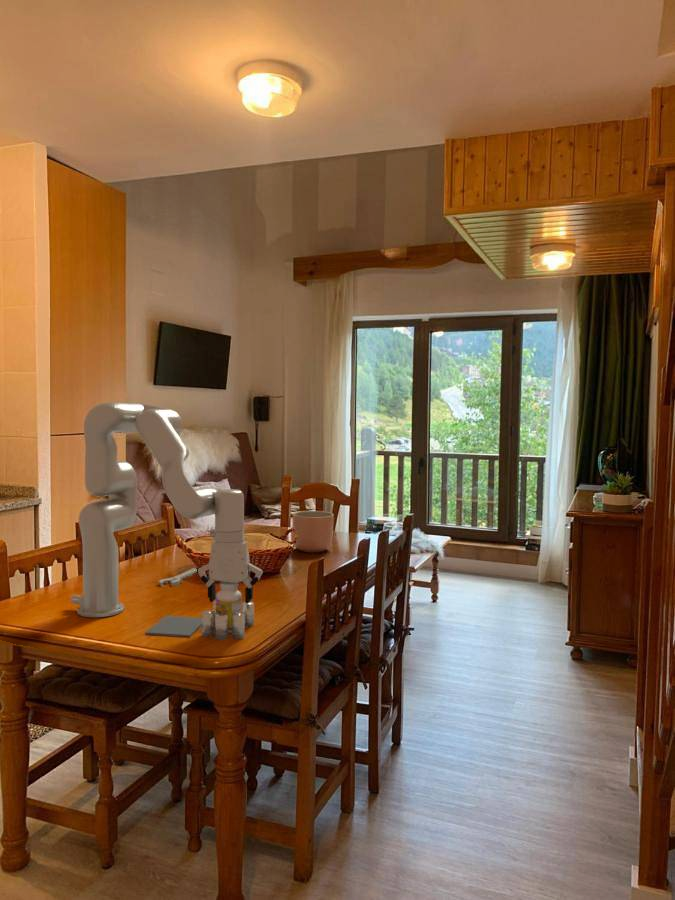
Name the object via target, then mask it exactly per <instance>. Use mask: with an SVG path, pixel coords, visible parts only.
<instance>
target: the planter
mask: <svg viewBox="0 0 675 900" xmlns="http://www.w3.org/2000/svg"><path fill="white" fill-rule="evenodd" d="M334 519H335V517H334V513H332V512H329V511H324V510H322V511H321V510H302V511H301V510H300V511H296V512H293V513H292V530H293V529H294V530H295V531H296V535H297V539H296V543H295V544H294V545H295V547H296V548H297V549H298V550H299V551H301V552H304V553H311V554H312V553H314V554H315V553H322V552H324V551H326V550H328V549H329V548H330V547H331V545H332V541H333V537H334Z"/></svg>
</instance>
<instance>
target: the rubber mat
mask: <svg viewBox="0 0 675 900" xmlns="http://www.w3.org/2000/svg"><path fill="white" fill-rule="evenodd" d="M200 628H202V617H194V616H180V615H178V616H176V615H175V616H174V615H165V616H163V617H162V618H161V619H160V620H158V622H156V623H155V624H154V625H152V627H150V628H149V629H148V630H147V631H145V632H144V634H145V635H151V636H165V637H167V636H168V637H179V638H180V637H181V638H191V637H192V636H193V635H194V634H195V633H196V632H197V631H198V630H199V629H200Z"/></svg>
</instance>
